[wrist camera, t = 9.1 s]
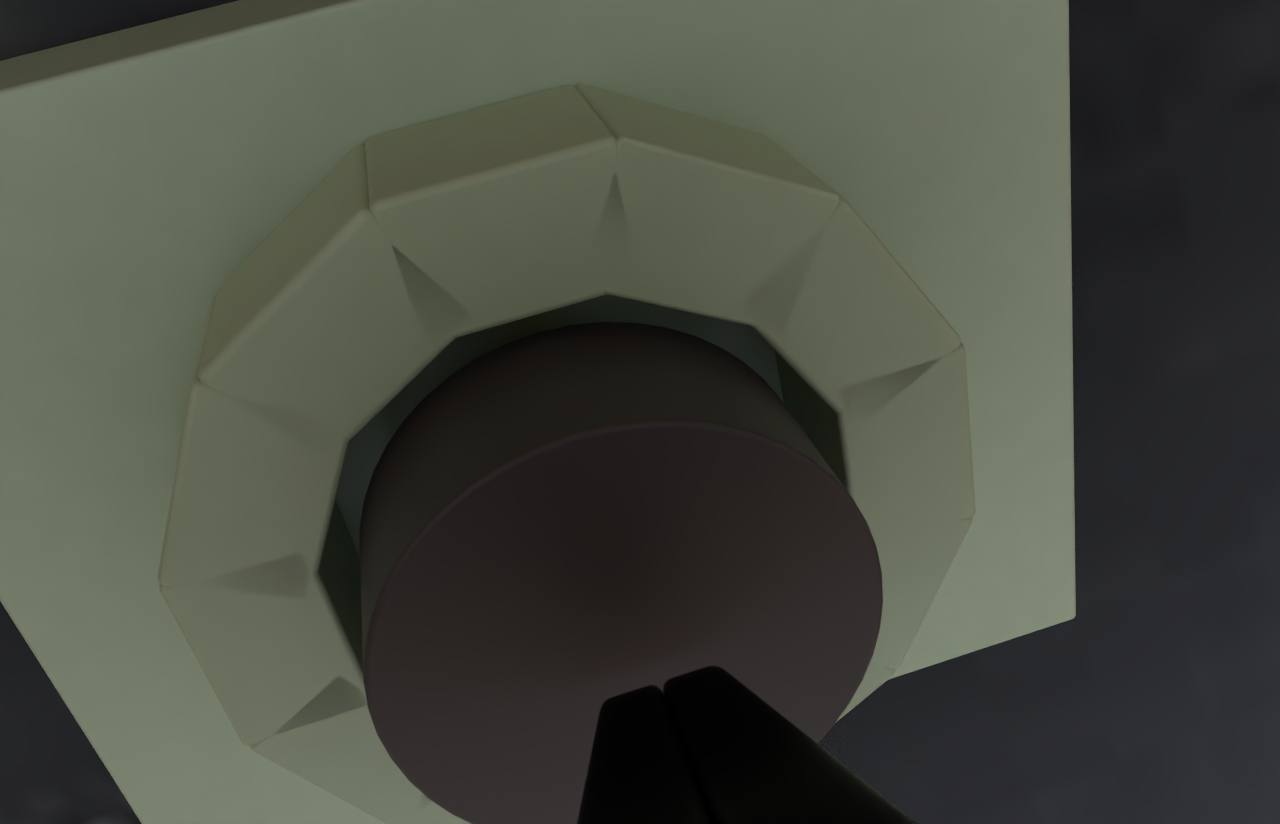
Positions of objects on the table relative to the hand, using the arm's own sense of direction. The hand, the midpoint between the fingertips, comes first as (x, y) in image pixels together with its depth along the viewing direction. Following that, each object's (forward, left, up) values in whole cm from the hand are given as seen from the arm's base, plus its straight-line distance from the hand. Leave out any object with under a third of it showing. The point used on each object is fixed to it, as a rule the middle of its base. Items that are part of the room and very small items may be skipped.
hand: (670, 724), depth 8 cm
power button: (0, 0, -3) cm, 3 cm away
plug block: (0, 0, -6) cm, 6 cm away
